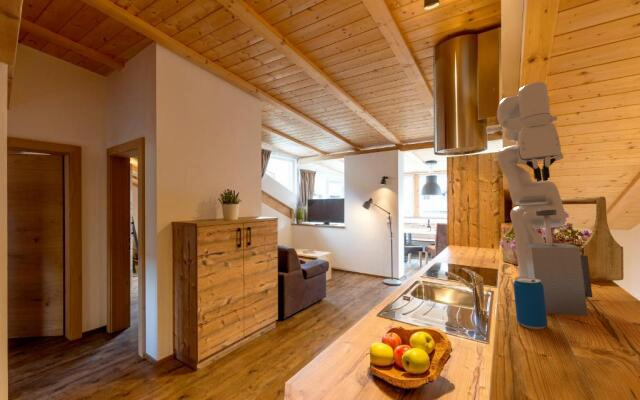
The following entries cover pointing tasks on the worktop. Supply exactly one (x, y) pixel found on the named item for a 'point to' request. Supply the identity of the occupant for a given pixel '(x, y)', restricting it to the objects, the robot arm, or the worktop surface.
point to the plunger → (547, 223)
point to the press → (560, 276)
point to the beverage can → (530, 302)
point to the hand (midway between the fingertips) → (542, 180)
